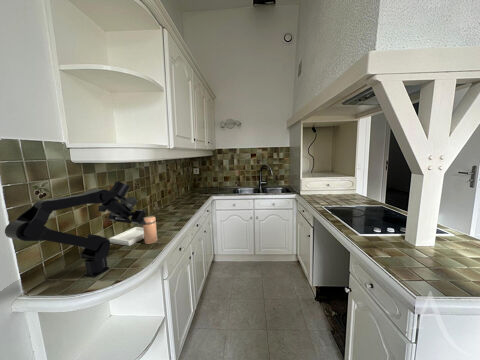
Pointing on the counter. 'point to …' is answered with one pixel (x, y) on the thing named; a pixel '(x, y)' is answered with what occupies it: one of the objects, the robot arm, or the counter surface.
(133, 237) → the tray
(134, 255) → the counter surface
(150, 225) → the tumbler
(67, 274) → the counter surface
